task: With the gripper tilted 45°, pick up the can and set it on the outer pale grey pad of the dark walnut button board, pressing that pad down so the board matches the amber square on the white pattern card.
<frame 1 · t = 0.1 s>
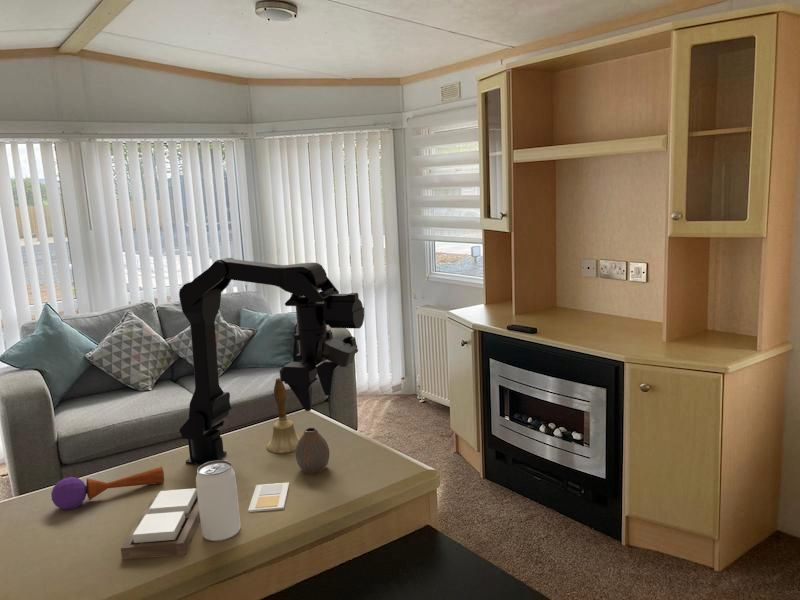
hand: (318, 402, 131), 15 cm above the table, tool pointing down, fingers open, 9 cm apart
hand bell: (285, 446, 148), on the table
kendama: (111, 497, 128), on the table
pattern card: (269, 497, 124), on the table
vase: (313, 470, 135), on the table
can: (221, 533, 112), on the table
inner pad: (173, 501, 118), point 3 cm above the table, slide at 0.0 cm
button board: (169, 528, 114), on the table
outer pad: (159, 526, 110), point 3 cm above the table, slide at 0.0 cm
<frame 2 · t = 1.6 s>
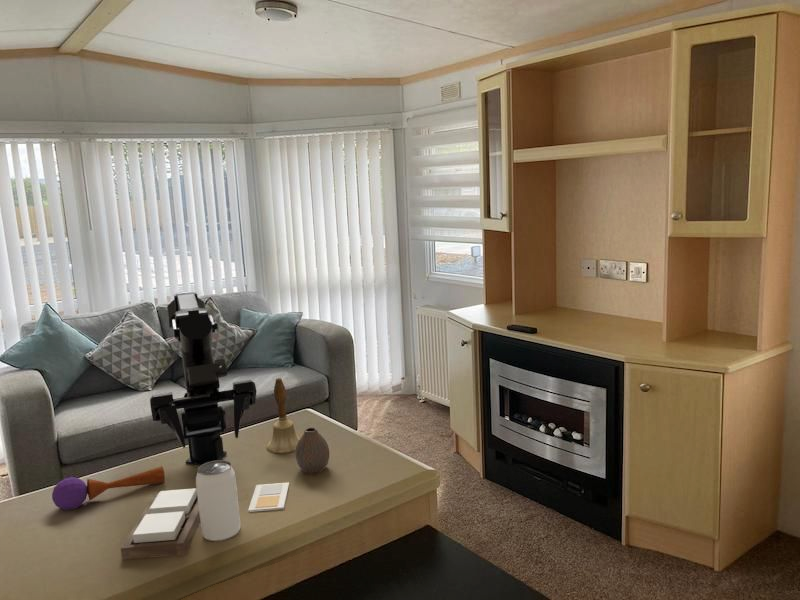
hand: (210, 441, 117), 13 cm above the table, tool tilted 45°, fingers open, 9 cm apart
nothing on the table moved.
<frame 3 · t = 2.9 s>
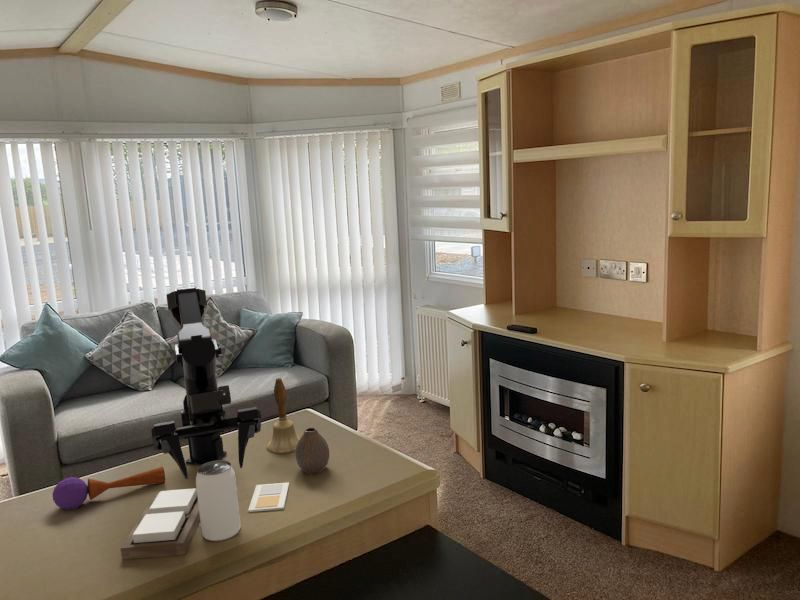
hand: (214, 472, 113), 10 cm above the table, tool tilted 45°, fingers open, 9 cm apart
nothing on the table moved.
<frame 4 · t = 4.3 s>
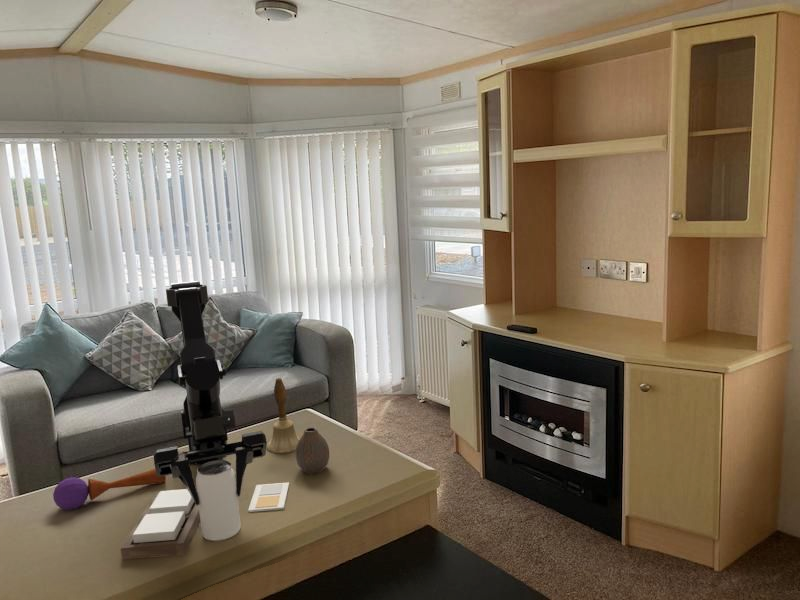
hand: (218, 500, 110), 7 cm above the table, tool tilted 45°, fingers closed on can, 6 cm apart
can: (221, 533, 112), on the table, touching gripper
everything else where it was.
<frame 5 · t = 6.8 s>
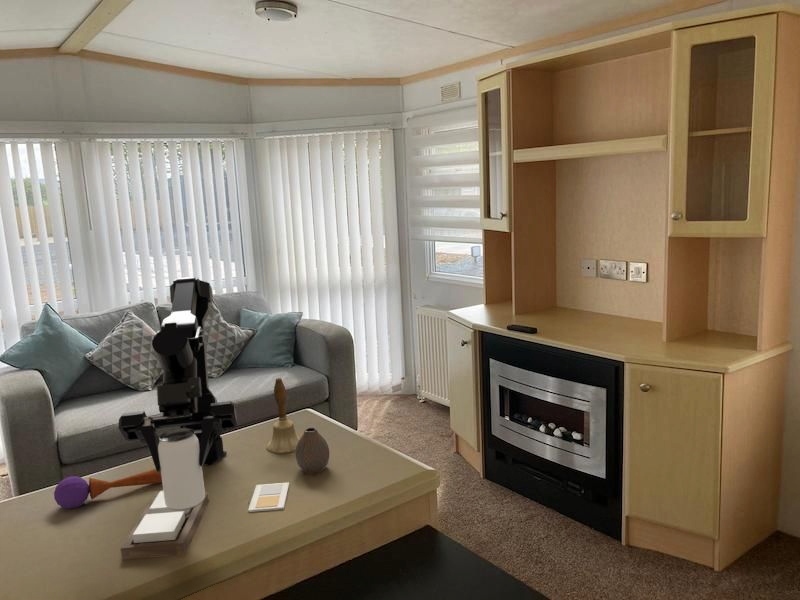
hand: (179, 468, 107), 13 cm above the table, tool tilted 45°, fingers closed on can, 6 cm apart
can: (185, 502, 110), point 6 cm above the table, touching gripper
everything else where it was.
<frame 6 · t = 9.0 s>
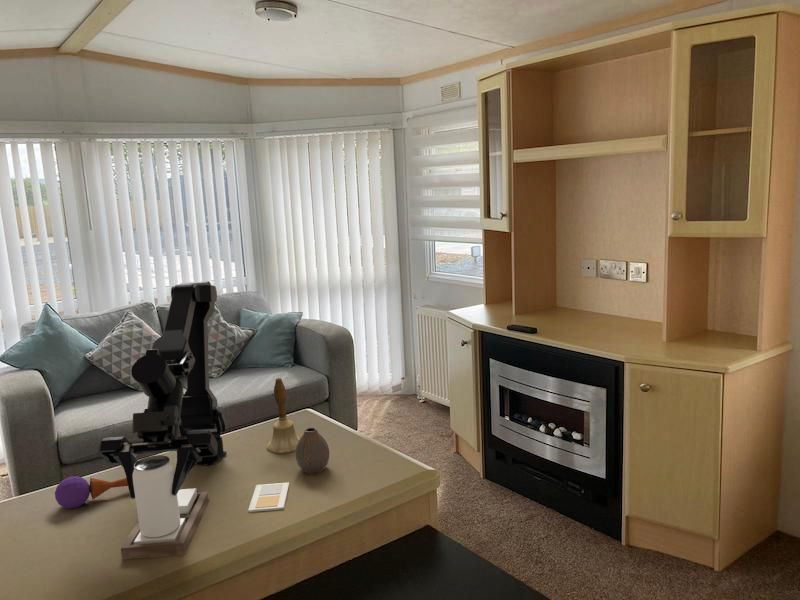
hand: (153, 496, 107), 9 cm above the table, tool tilted 45°, fingers closed on can, 6 cm apart
can: (160, 529, 110), point 2 cm above the table, touching gripper, outer pad
outer pad: (160, 533, 110), point 1 cm above the table, slide at 1.3 cm, touching can
everything else where it was.
when the fingers open (9 cm above the table, at t = 9.2 s): can stays where it is, resting on outer pad.
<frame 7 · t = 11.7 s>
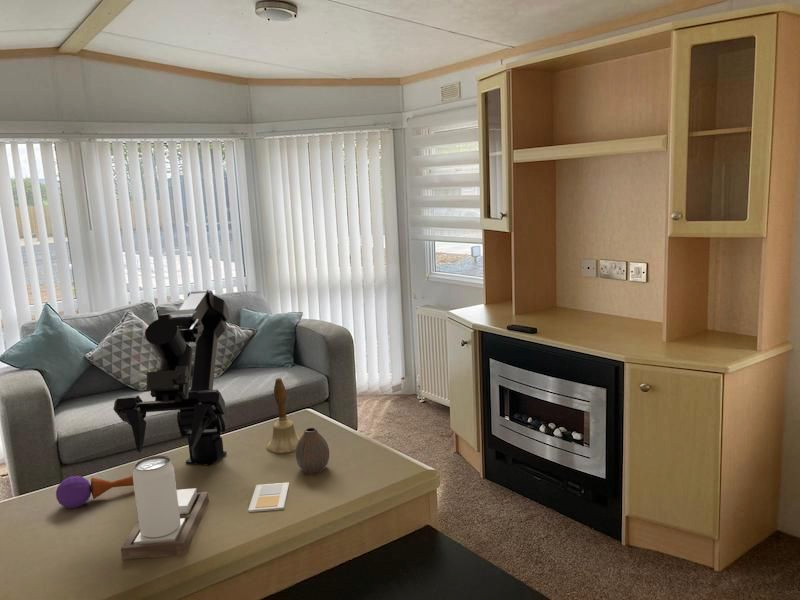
hand: (165, 449, 115), 13 cm above the table, tool tilted 45°, fingers open, 9 cm apart
can: (160, 530, 110), point 2 cm above the table, touching outer pad
everything else where it was.
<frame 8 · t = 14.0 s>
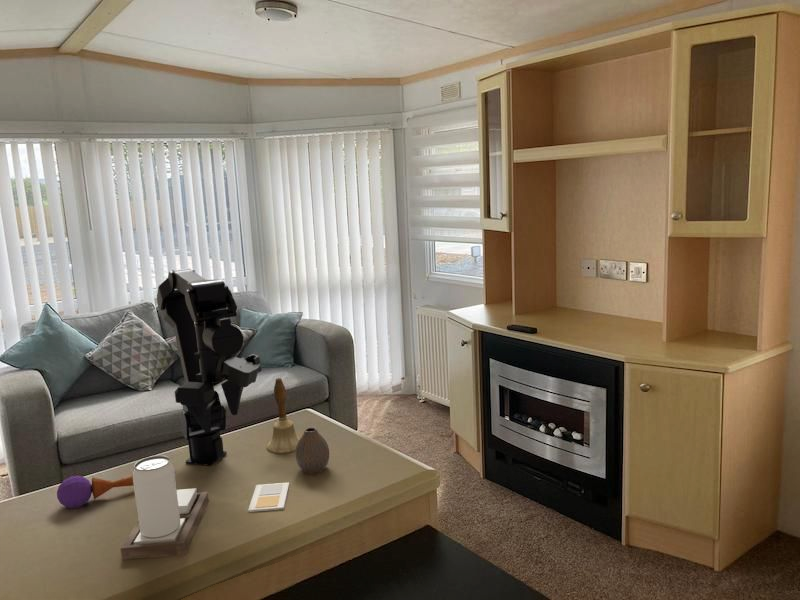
hand: (221, 423, 127), 13 cm above the table, tool pointing down, fingers open, 9 cm apart
nothing on the table moved.
at the end: outer pad slide at 1.3 cm; can 0.2 cm from the outer pad (horizontally); inner pad slide at 0.0 cm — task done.
